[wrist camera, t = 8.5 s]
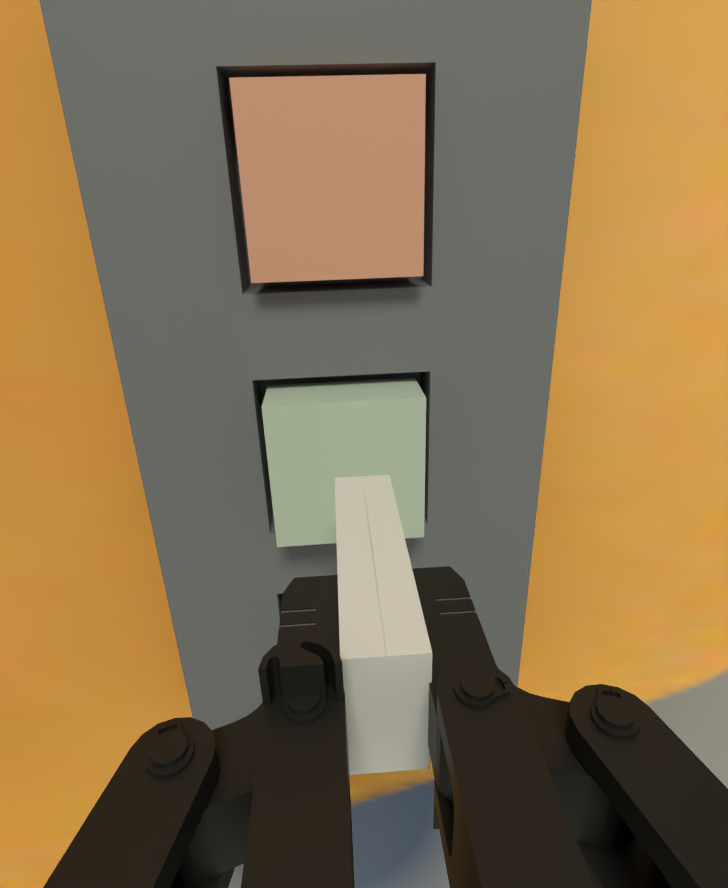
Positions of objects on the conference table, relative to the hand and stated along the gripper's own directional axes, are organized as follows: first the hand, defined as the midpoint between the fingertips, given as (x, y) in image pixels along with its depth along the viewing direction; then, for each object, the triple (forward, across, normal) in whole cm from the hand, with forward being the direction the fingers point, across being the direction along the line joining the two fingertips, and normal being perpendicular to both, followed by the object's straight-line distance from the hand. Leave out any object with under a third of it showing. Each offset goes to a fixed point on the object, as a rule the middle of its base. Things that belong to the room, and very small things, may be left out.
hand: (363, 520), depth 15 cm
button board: (+7, 0, 0) cm, 7 cm away
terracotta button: (+6, 0, +9) cm, 10 cm away
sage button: (+5, 0, 0) cm, 5 cm away
